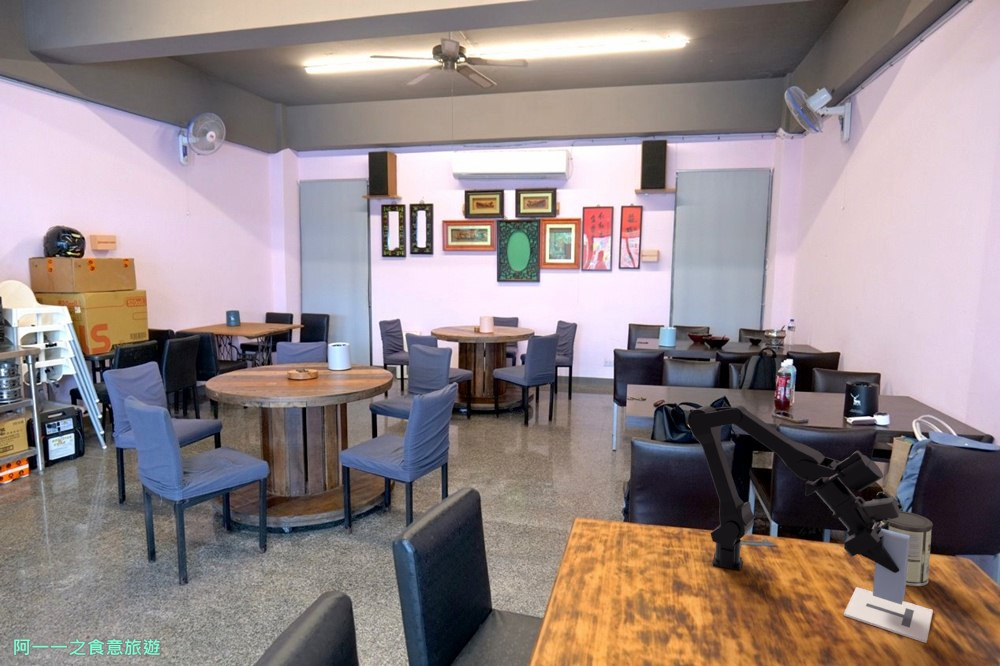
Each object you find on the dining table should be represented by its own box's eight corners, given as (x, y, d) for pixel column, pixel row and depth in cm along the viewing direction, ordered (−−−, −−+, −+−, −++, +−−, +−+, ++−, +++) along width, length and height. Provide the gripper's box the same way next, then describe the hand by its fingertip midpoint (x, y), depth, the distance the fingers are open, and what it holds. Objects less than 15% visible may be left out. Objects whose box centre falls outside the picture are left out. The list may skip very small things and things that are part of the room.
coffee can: (870, 562, 144) (874, 507, 143) (919, 568, 141) (923, 513, 139) (883, 582, 134) (887, 523, 133) (935, 590, 131) (940, 530, 130)
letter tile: (843, 615, 121) (843, 613, 121) (856, 589, 131) (856, 586, 131) (926, 643, 112) (926, 640, 111) (932, 612, 122) (932, 609, 122)
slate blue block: (872, 595, 121) (877, 535, 120) (876, 586, 125) (881, 528, 123) (901, 604, 118) (906, 543, 116) (904, 595, 121) (909, 535, 120)
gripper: (866, 494, 114) (931, 566, 108) (881, 471, 129) (939, 533, 122) (820, 521, 120) (879, 591, 114) (838, 497, 134) (892, 557, 128)
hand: (899, 566), depth 120 cm, fingers closed on slate blue block, 5 cm apart
